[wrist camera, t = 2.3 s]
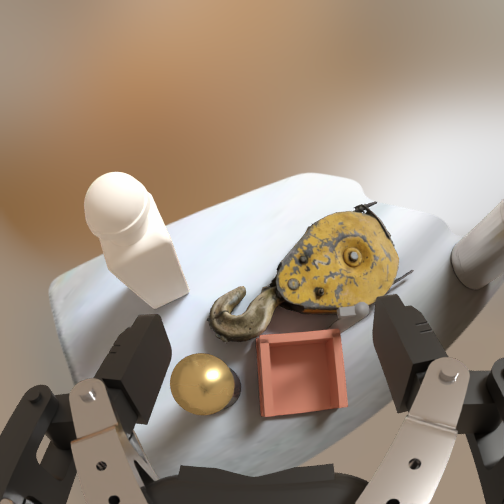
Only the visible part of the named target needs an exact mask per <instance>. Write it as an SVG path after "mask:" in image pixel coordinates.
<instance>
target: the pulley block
mask: <svg viewBox="0 0 504 504" xmlns="http://www.w3.org/2000/svg"><path fill="white" fill-rule="evenodd" d="M374 204H377V202H376V201H375V202H372V203H368V204H364V205H362V204H361V205H358V206H356V207H354V208H355V211H353V212H352V211H346V212H336V213H334V214H331V215H328V216H326V217H324V218H322V219H320V220H318V221H317V222H315V223H314V224H312V225H311V226H309V227H308V228H307V231H306V232H305V234H304V235H303V237H302V238H301V239H300V240H299V241H298V242H297V244H296V245H295V246H294V247H293V248H292V249H291V251H290V252H289V253H288V254H287V255H286V256H285V258H284V259H283V260H282V261H281V262H280V264H279V265H278V268H277V270H278V271H277V276H276V277H275V278H274V279H273V280H272V283H271V284H270V287H267V286H266V287H263V288H262V292H261V294H260V295H259V296H257V297H256V298H255V299H254V300H253V301H252V302H251V303H250V305H249V306H248V308H247V310H246V312H244V313H243V314H242V315H238V316H235V315H231V314H230V313H231V311H232V309H233V308H234V307H235V306H236V305H238V304H239V302H240V301H241V300H242V299H243V298H244V296H245V295H246V289H245V287H244V286H240V287H238V288H236V289H234V290H232V291H230V292H228V293H226V294H225V295H223V296H221V297H220V298H218V299H217V300H216V301H215V302H214V304H213V306H212V308H211V310H210V316H209V318H208V319H207V321H209V325H210V328H211V329H213V331H214V332H215V333H216V337H217V338H219V339H221V340H222V341H223V342H226V343H227V342H230V341H233V342H242V341H247V340H250V339H253V338H255V337H257V336H259V335H260V334H262V333H263V332H264V331H265V330H266V328H267V326H268V325H269V323H270V321H271V318H272V315H273V312H274V310H275V309H276V307H277V306H278V305H279V306H281V307H283V308H285V309H288V310H293V311H297V312H300V313H303V314H337V309H338V308H339V307H349V306H355V305H356V304H357V303H359V302H365V303H366V304H367V305H371V304H372V303H374V302H376V298H377V297H378V296H384V295H385V294H386V293H387V291H388V290H389V289H390V287H391V286H392V285H393V284H395V283H396V282H398V281H400V280H401V279H403V278H404V277H406V276H407V275H409V274H411V273H412V272H413V271H414V270H411V271H410V272H408V273H406V274H405V275H404V276H402V277H400V278H398V279H396V280H395V278H396V275H397V271H398V265H399V257H398V254H397V252H396V250H395V248H394V245H393V242H392V240H391V238H390V237H391V235H390V233H389V232H388V231H387V229H386V227H385V226H384V224H383V223H382V221H381V220H380V219H379V218H378V217H377V216H376V215H375V214H374V213H373V212H372V211H371V210H370V209H369V208H368V207H370V206H372V205H374ZM364 210H366V211H367V212H366V213H365V214H364ZM362 212H363V213H362Z"/></svg>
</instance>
